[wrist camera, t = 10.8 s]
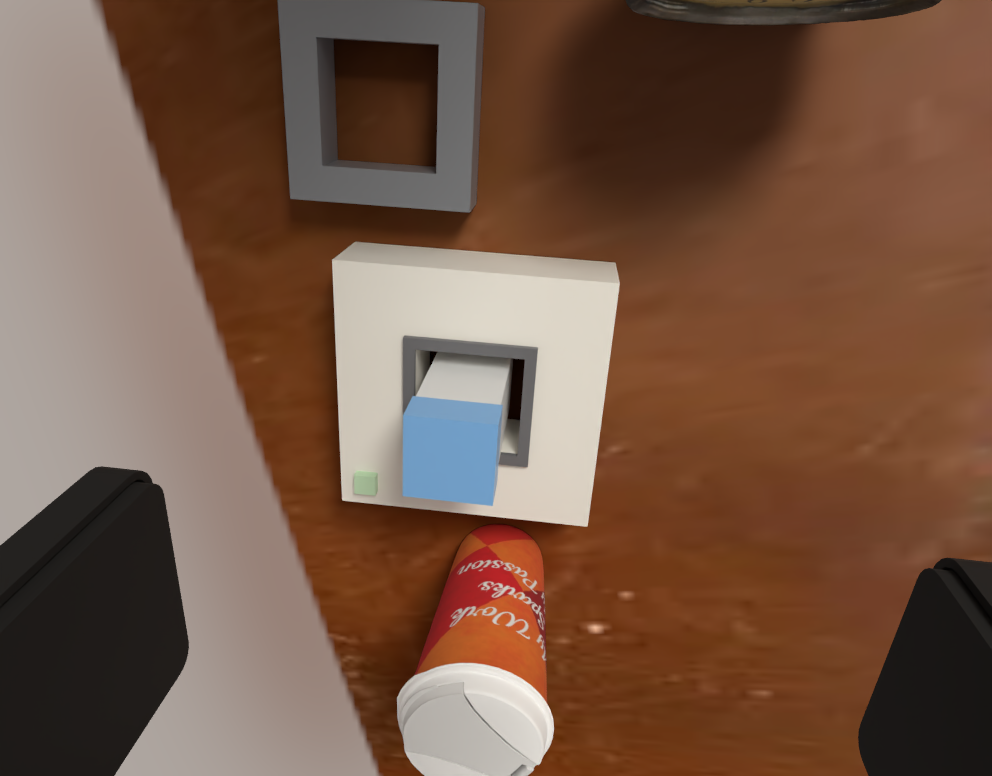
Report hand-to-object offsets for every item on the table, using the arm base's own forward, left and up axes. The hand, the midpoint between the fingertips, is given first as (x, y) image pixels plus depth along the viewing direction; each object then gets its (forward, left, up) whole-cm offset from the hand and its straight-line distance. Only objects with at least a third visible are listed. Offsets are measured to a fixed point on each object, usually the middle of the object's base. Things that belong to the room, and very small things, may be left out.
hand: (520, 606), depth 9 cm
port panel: (+10, -4, -30) cm, 32 cm away
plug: (+10, -4, -30) cm, 32 cm away
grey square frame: (-4, -9, -30) cm, 32 cm away
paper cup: (+23, -2, -30) cm, 38 cm away
